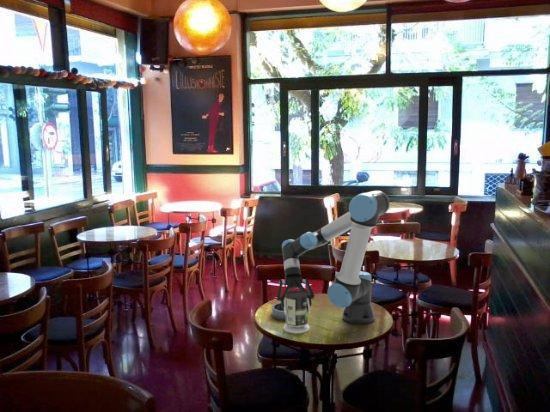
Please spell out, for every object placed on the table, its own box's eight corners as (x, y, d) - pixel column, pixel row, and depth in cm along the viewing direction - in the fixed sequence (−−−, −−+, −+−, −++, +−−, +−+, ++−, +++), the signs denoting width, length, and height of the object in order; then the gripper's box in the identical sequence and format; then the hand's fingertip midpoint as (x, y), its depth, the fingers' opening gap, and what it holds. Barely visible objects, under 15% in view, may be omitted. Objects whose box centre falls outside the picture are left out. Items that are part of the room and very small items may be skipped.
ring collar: (305, 311, 265) (305, 304, 264) (295, 321, 252) (295, 313, 251) (279, 308, 270) (279, 300, 270) (267, 317, 257) (267, 309, 257)
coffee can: (309, 319, 247) (309, 290, 245) (306, 328, 237) (305, 297, 235) (287, 318, 249) (287, 289, 247) (283, 326, 239) (283, 296, 237)
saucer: (313, 325, 246) (313, 324, 246) (304, 335, 235) (304, 333, 235) (289, 322, 251) (289, 320, 251) (279, 331, 240) (279, 329, 240)
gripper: (314, 272, 256) (321, 315, 243) (268, 274, 254) (272, 317, 241) (316, 265, 250) (323, 308, 237) (269, 267, 248) (273, 310, 235)
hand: (297, 313), depth 239 cm, fingers closed on coffee can, 10 cm apart
